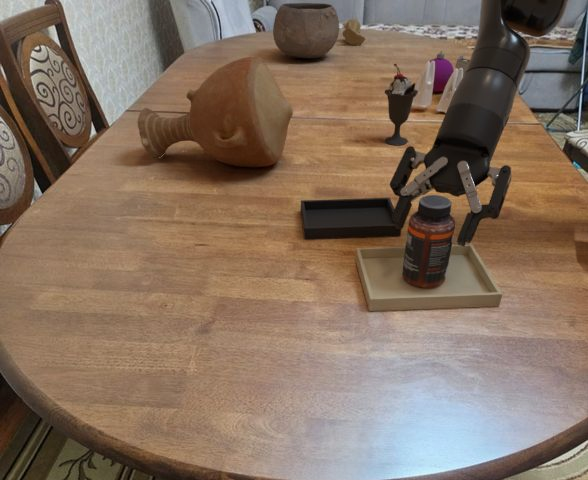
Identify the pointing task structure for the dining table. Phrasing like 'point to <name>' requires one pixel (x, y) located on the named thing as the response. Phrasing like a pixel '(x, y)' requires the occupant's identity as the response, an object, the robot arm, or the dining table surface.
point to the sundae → (399, 105)
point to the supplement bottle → (429, 242)
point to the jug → (227, 117)
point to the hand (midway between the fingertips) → (428, 235)
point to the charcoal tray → (348, 218)
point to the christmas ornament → (441, 72)
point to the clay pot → (306, 29)
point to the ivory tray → (403, 296)
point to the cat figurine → (353, 32)
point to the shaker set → (426, 88)
